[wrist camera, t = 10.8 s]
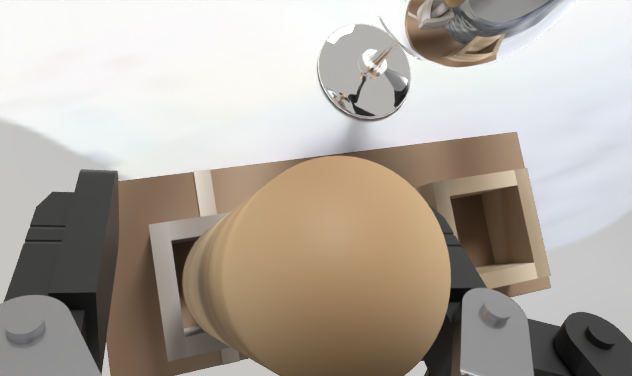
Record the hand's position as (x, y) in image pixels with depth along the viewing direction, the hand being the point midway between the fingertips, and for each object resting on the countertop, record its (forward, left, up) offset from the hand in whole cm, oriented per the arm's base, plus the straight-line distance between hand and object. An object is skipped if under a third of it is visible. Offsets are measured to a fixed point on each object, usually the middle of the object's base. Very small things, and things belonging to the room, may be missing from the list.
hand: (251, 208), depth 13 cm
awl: (0, +2, -7) cm, 7 cm away
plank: (-5, +1, -9) cm, 10 cm away
